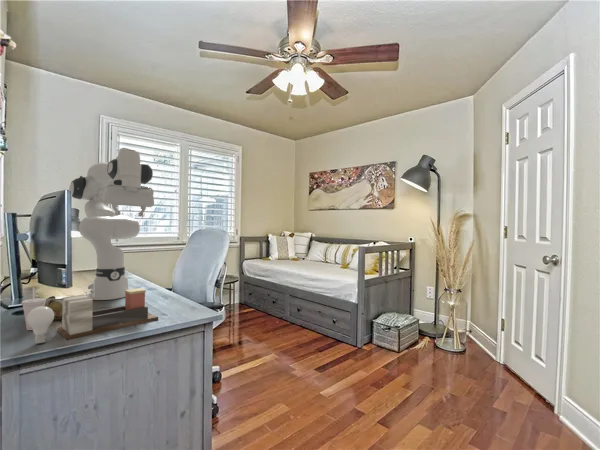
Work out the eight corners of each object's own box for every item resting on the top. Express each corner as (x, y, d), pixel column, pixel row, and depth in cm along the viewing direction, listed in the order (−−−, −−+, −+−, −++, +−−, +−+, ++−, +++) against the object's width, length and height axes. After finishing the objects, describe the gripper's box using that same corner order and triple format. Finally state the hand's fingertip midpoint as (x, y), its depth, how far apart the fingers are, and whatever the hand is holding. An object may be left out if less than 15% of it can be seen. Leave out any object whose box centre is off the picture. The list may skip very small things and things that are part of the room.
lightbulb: (38, 348, 89) (38, 310, 89) (20, 346, 91) (20, 308, 90) (59, 340, 95) (59, 304, 95) (42, 338, 97) (42, 303, 97)
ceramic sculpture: (43, 291, 122) (83, 293, 124) (42, 314, 122) (82, 315, 124) (21, 298, 112) (66, 300, 113) (20, 322, 112) (64, 324, 113)
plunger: (124, 316, 116) (124, 290, 116) (139, 313, 120) (139, 287, 120) (129, 319, 113) (130, 292, 113) (145, 316, 117) (145, 290, 117)
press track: (57, 330, 104) (58, 297, 104) (144, 313, 125) (145, 285, 125) (66, 339, 96) (67, 304, 96) (158, 319, 117) (158, 290, 117)
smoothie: (17, 333, 101) (18, 289, 101) (25, 327, 107) (26, 286, 107) (42, 330, 104) (42, 288, 104) (48, 324, 110) (49, 285, 110)
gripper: (150, 188, 147) (150, 217, 146) (101, 182, 131) (100, 215, 130) (156, 186, 143) (156, 216, 142) (106, 180, 127) (106, 213, 126)
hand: (129, 215), depth 136 cm, fingers open, 8 cm apart
